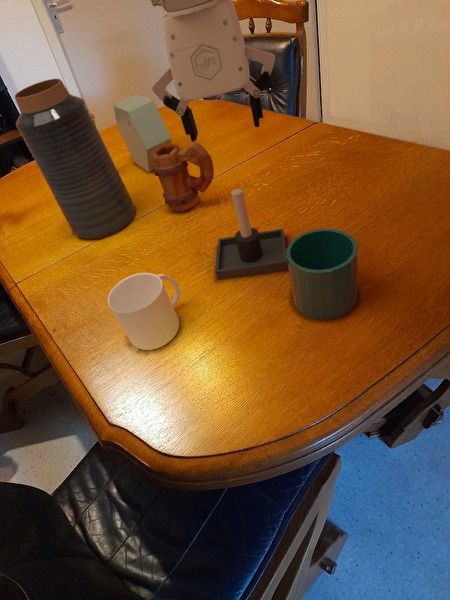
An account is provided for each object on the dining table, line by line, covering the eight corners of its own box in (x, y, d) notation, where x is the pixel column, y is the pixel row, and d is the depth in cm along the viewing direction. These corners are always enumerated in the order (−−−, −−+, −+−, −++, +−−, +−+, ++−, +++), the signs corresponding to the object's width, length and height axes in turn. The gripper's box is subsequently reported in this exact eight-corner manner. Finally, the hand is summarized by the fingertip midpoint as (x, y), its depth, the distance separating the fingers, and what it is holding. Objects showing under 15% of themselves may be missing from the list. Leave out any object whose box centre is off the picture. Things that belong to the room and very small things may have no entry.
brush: (262, 246, 79) (249, 182, 69) (262, 261, 76) (249, 195, 66) (240, 250, 80) (224, 187, 70) (239, 264, 77) (223, 200, 67)
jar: (350, 272, 69) (350, 223, 62) (362, 315, 62) (363, 266, 55) (291, 280, 71) (284, 234, 64) (295, 323, 64) (288, 276, 57)
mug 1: (145, 360, 65) (122, 322, 59) (121, 332, 71) (98, 294, 65) (203, 318, 69) (188, 278, 63) (176, 294, 75) (159, 256, 69)
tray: (284, 236, 80) (283, 228, 79) (288, 270, 73) (286, 261, 72) (220, 246, 83) (217, 238, 81) (217, 279, 76) (214, 271, 74)
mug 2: (160, 214, 97) (137, 156, 87) (174, 196, 102) (154, 138, 92) (215, 215, 92) (198, 153, 81) (227, 195, 97) (212, 134, 86)
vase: (118, 241, 93) (46, 99, 71) (62, 241, 99) (-20, 109, 77) (147, 201, 103) (92, 67, 82) (94, 203, 109) (30, 78, 88)
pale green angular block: (172, 172, 123) (171, 123, 103) (150, 183, 120) (145, 135, 101) (142, 132, 126) (136, 77, 106) (120, 142, 124) (110, 88, 104)
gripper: (120, 18, 48) (167, 154, 60) (264, -24, 45) (284, 128, 56) (133, 7, 54) (174, 133, 65) (262, -32, 50) (281, 108, 62)
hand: (225, 130), depth 61 cm, fingers open, 9 cm apart
